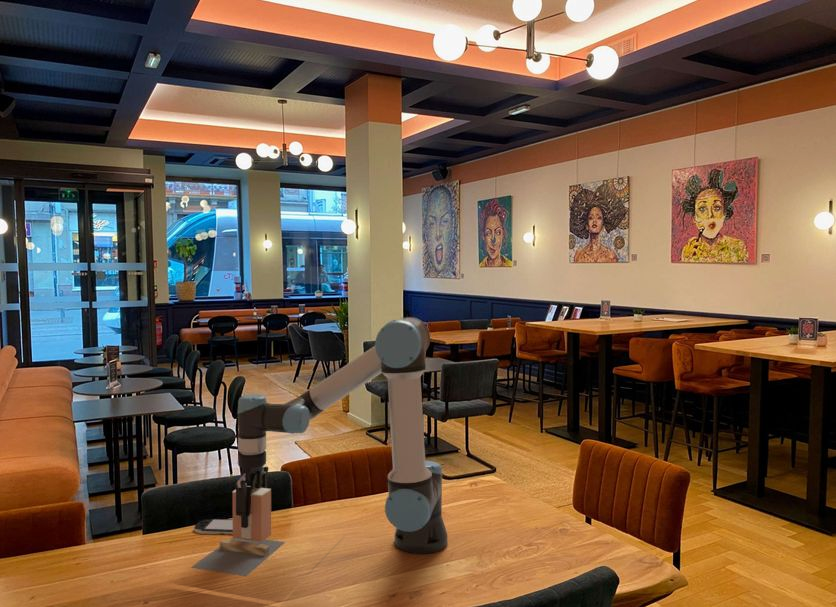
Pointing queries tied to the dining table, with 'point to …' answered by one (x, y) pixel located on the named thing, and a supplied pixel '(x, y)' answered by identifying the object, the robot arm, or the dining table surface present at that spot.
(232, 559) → the mat
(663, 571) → the dining table surface
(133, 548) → the dining table surface
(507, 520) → the dining table surface
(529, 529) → the dining table surface
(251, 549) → the bar
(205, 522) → the gaming console
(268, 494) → the block
